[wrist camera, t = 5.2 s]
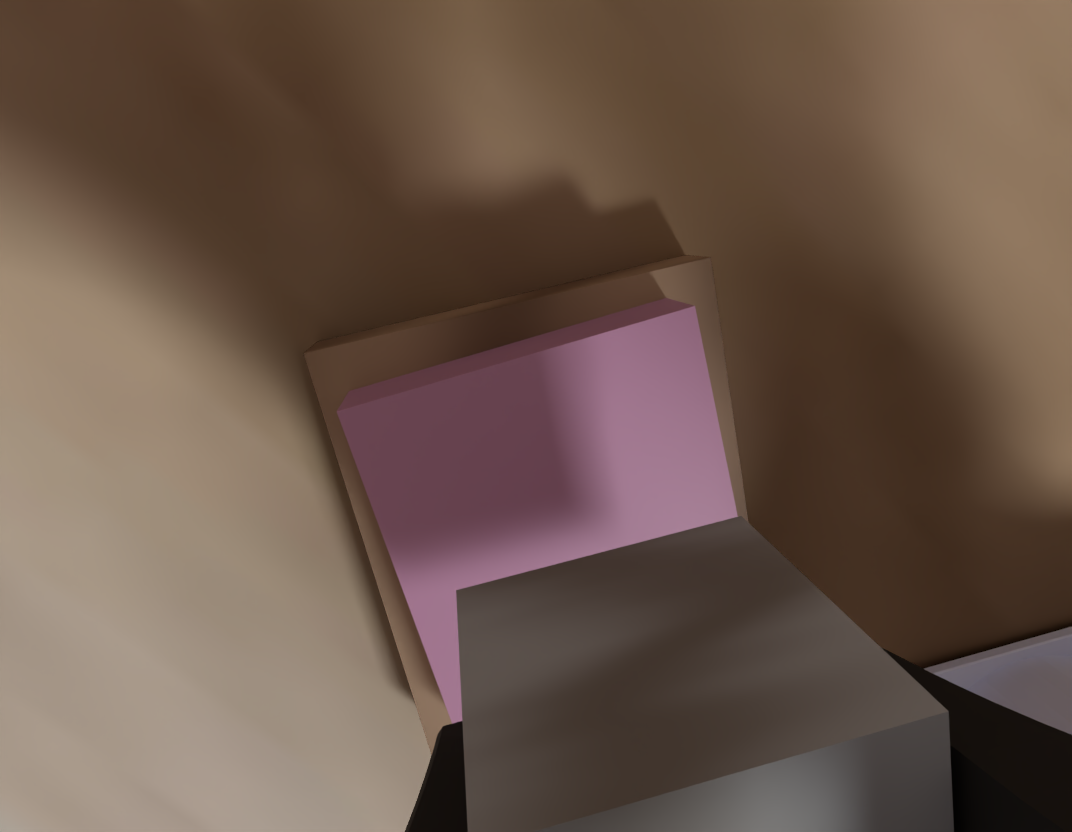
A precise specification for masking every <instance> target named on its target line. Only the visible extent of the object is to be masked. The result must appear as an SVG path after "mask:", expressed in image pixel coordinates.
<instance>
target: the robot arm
mask: <svg viewBox="0 0 1072 832" xmlns="http://www.w3.org/2000/svg"><path fill="white" fill-rule="evenodd" d="M882 649H883V648H882ZM883 650H884V651H885V652H886V653H887V654H888V655H889V656H890V657H891V658H893V659H894V660H895V661H896V662H897V663H898V664H899V665H900V666H901V667H902V668H903V669H904V670H905V671H906V672H907V673H908V674H910V675H911V676H912V677H913V678H914V679H915V680H916V681H917V682H918V683H919V684H920V685H921V686H922V687H923V688H924V689H925V690H927V691H928V692H929V693H930V694H931V695H932V696H933V697H934V698H935V699H936V700H937V701H938V702H939V703H940V704H941V705H942V706H943V707H945V708H946V709H947V710H948V711H949V732H950V754H951V776H952V798H953V820H954V832H1072V627H1068V628H1065V629H1061V630H1058V631H1054V632H1051V633H1047V634H1044V635H1040V636H1037V637H1033V638H1029V639H1026V640H1022V641H1019V642H1015V643H1012V644H1008V645H1005V646H1001V647H998V648H994V649H991V650H987V651H984V652H980V653H977V654H973V655H970V656H966V657H963V658H959V659H956V660H952V661H949V662H945V663H942V664H938V665H935V666H931V667H928V668H924V669H923V668H921V667H919V666H917V665H915V664H913V663H911V662H909V661H907V660H905V659H903V658H901V657H899V656H897V655H895V654H893V653H891V652H889V651H887V650H885V649H883ZM405 832H468V826H467V805H466V785H465V764H464V743H463V723H462V721H460V722H456V723H453V724H449V725H445V726H443V727H442V728H441V730H440V731H439V733H438V734H437V738H436V742H435V746H434V749H433V752H432V756H431V759H430V763H429V766H428V769H427V772H426V775H425V778H424V781H423V784H422V787H421V790H420V793H419V795H418V798H417V801H416V804H415V807H414V809H413V812H412V814H411V817H410V820H409V822H408V825H407V827H406V830H405Z"/></svg>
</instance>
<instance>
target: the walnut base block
mask: <svg viewBox="0 0 1072 832" xmlns="http://www.w3.org/2000/svg"><path fill="white" fill-rule="evenodd" d="M664 298H669V299H672V300H676V301H679V302H683V303H686V304H690V305H693V306H695V309H696V314H697V319H698V324H699V329H700V333H701V338H702V343H703V348H704V353H705V358H706V363H707V368H708V373H709V378H710V383H711V388H712V393H713V397H714V402H715V407H716V412H717V417H718V422H719V427H720V432H721V437H722V442H723V447H724V452H725V456H726V461H727V466H728V471H729V476H730V481H731V486H732V491H733V496H734V501H735V506H736V511H737V516H742V517H743V518H744V519H745V520H746V521H747V522H748V516H747V509H746V502H745V495H744V487H743V480H742V473H741V466H740V459H739V452H738V445H737V438H736V431H735V424H734V417H733V410H732V403H731V396H730V389H729V381H728V374H727V367H726V360H725V353H724V346H723V339H722V332H721V325H720V318H719V311H718V304H717V297H716V290H715V283H714V276H713V268H712V261H711V257H701V256H690V255H684V256H679V257H675V258H671V259H667V260H662V261H658V262H654V263H650V264H645V265H641V266H637V267H633V268H628V269H624V270H620V271H616V272H611V273H607V274H603V275H599V276H594V277H590V278H586V279H582V280H577V281H573V282H569V283H565V284H561V285H556V286H552V287H548V288H544V289H539V290H535V291H531V292H527V293H522V294H518V295H514V296H510V297H505V298H501V299H497V300H493V301H488V302H484V303H480V304H476V305H471V306H467V307H463V308H459V309H454V310H450V311H446V312H442V313H437V314H433V315H429V316H425V317H421V318H416V319H412V320H408V321H404V322H399V323H395V324H391V325H387V326H382V327H378V328H374V329H370V330H365V331H361V332H357V333H353V334H348V335H344V336H340V337H336V338H331V339H327V340H323V341H319V342H316V343H315V344H314V345H313V346H312V347H310V348H309V349H308V350H307V351H306V352H305V353H304V357H305V360H306V364H307V367H308V370H309V373H310V376H311V379H312V382H313V385H314V389H315V392H316V395H317V398H318V401H319V404H320V407H321V410H322V414H323V417H324V420H325V423H326V426H327V429H328V432H329V435H330V439H331V442H332V445H333V448H334V451H335V454H336V457H337V461H338V464H339V467H340V470H341V473H342V476H343V479H344V482H345V486H346V489H347V492H348V495H349V498H350V501H351V504H352V507H353V511H354V514H355V517H356V520H357V523H358V526H359V529H360V532H361V536H362V539H363V542H364V545H365V548H366V551H367V554H368V557H369V561H370V564H371V567H372V570H373V573H374V576H375V579H376V583H377V586H378V589H379V592H380V595H381V598H382V601H383V604H384V608H385V611H386V614H387V617H388V620H389V623H390V626H391V629H392V633H393V636H394V639H395V642H396V645H397V648H398V651H399V654H400V658H401V661H402V664H403V667H404V670H405V673H406V676H407V679H408V683H409V686H410V689H411V692H412V695H413V698H414V701H415V705H416V708H417V711H418V714H419V717H420V720H421V723H422V726H423V730H424V733H425V736H426V739H427V742H428V745H429V748H430V751H431V755H432V752H433V749H434V746H435V742H436V738H437V734H438V733H439V731H440V730H441V728H442V727H443V726H445V725H449V724H452V722H451V719H450V716H449V714H448V711H447V708H446V706H445V703H444V700H443V698H442V695H441V692H440V689H439V687H438V684H437V681H436V679H435V676H434V673H433V671H432V668H431V665H430V662H429V660H428V657H427V654H426V652H425V649H424V646H423V644H422V641H421V638H420V635H419V633H418V630H417V627H416V625H415V622H414V619H413V617H412V614H411V611H410V608H409V606H408V603H407V600H406V598H405V595H404V592H403V590H402V587H401V584H400V581H399V579H398V576H397V573H396V571H395V568H394V565H393V563H392V560H391V557H390V554H389V552H388V549H387V546H386V544H385V541H384V538H383V536H382V533H381V530H380V527H379V525H378V522H377V519H376V517H375V514H374V511H373V509H372V506H371V503H370V500H369V498H368V495H367V492H366V490H365V487H364V484H363V482H362V479H361V476H360V473H359V471H358V468H357V465H356V463H355V460H354V457H353V455H352V452H351V449H350V446H349V444H348V441H347V438H346V436H345V433H344V430H343V428H342V425H341V422H340V419H339V417H338V414H337V410H338V408H339V407H340V405H341V403H342V402H343V400H344V399H345V397H346V395H347V394H348V392H349V391H351V390H354V389H358V388H361V387H365V386H368V385H371V384H375V383H378V382H382V381H385V380H388V379H392V378H395V377H399V376H402V375H405V374H409V373H412V372H416V371H419V370H422V369H426V368H429V367H433V366H436V365H439V364H443V363H446V362H450V361H453V360H456V359H460V358H463V357H467V356H470V355H473V354H477V353H480V352H484V351H487V350H490V349H494V348H497V347H501V346H504V345H508V344H511V343H514V342H518V341H521V340H525V339H528V338H531V337H535V336H538V335H542V334H545V333H548V332H552V331H555V330H559V329H562V328H565V327H569V326H572V325H576V324H579V323H582V322H586V321H589V320H593V319H596V318H599V317H603V316H606V315H610V314H613V313H616V312H620V311H623V310H627V309H630V308H633V307H637V306H640V305H644V304H647V303H650V302H654V301H657V300H661V299H664Z"/></svg>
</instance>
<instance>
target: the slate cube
mask: <svg viewBox="0 0 1072 832" xmlns="http://www.w3.org/2000/svg"><path fill="white" fill-rule="evenodd" d="M456 599H457V620H458V640H459V661H460V682H461V702H462V723H463V743H464V764H465V785H466V805H467V826H468V832H954V820H953V798H952V776H951V754H950V732H949V711H948V710H947V709H946V708H945V707H943V706H942V705H941V704H940V703H939V702H938V701H937V700H936V699H935V698H934V697H933V696H932V695H931V694H930V693H929V692H928V691H927V690H925V689H924V688H923V687H922V686H921V685H920V684H919V683H918V682H917V681H916V680H915V679H914V678H913V677H912V676H911V675H910V674H908V673H907V672H906V671H905V670H904V669H903V668H902V667H901V666H900V665H899V664H898V663H897V662H896V661H895V660H894V659H893V658H891V657H890V656H889V655H888V654H887V653H886V652H885V651H884V650H883V649H882V648H881V647H880V646H879V645H878V644H877V643H876V642H875V641H873V640H872V639H871V638H870V637H869V636H868V635H867V634H866V633H865V632H864V631H863V630H862V629H861V628H860V627H859V626H858V625H856V624H855V623H854V622H853V621H852V620H851V619H850V618H849V617H848V616H847V615H846V614H845V613H844V612H843V611H842V610H841V609H840V608H838V607H837V606H836V605H835V604H834V603H833V602H832V601H831V600H830V599H829V598H828V597H827V596H826V595H825V594H824V593H823V592H821V591H820V590H819V589H818V588H817V587H816V586H815V585H814V584H813V583H812V582H811V581H810V580H809V579H808V578H807V577H806V576H804V575H803V574H802V573H801V572H800V571H799V570H798V569H797V568H796V567H795V566H794V565H793V564H792V563H791V562H790V561H789V560H788V559H786V558H785V557H784V556H783V555H782V554H781V553H780V552H779V551H778V550H777V549H776V548H775V547H774V546H773V545H772V544H771V543H769V542H768V541H767V540H766V539H765V538H764V537H763V536H762V535H761V534H760V533H759V532H758V531H757V530H756V529H755V528H754V527H753V526H751V525H750V524H749V523H748V522H747V521H746V520H745V519H744V518H743V517H742V516H738V517H734V518H731V519H727V520H723V521H719V522H715V523H712V524H708V525H704V526H700V527H696V528H692V529H689V530H685V531H681V532H677V533H673V534H669V535H666V536H662V537H658V538H654V539H650V540H646V541H643V542H639V543H635V544H631V545H627V546H623V547H620V548H616V549H612V550H608V551H604V552H600V553H597V554H593V555H589V556H585V557H581V558H577V559H574V560H570V561H566V562H562V563H558V564H555V565H551V566H547V567H543V568H539V569H535V570H532V571H528V572H524V573H520V574H516V575H512V576H509V577H505V578H501V579H497V580H493V581H489V582H486V583H482V584H478V585H474V586H470V587H466V588H463V589H459V590H456Z"/></svg>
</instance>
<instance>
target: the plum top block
mask: <svg viewBox="0 0 1072 832" xmlns="http://www.w3.org/2000/svg"><path fill="white" fill-rule="evenodd" d="M337 414H338V417H339V419H340V422H341V425H342V428H343V430H344V433H345V436H346V438H347V441H348V444H349V446H350V449H351V452H352V455H353V457H354V460H355V463H356V465H357V468H358V471H359V473H360V476H361V479H362V482H363V484H364V487H365V490H366V492H367V495H368V498H369V500H370V503H371V506H372V509H373V511H374V514H375V517H376V519H377V522H378V525H379V527H380V530H381V533H382V536H383V538H384V541H385V544H386V546H387V549H388V552H389V554H390V557H391V560H392V563H393V565H394V568H395V571H396V573H397V576H398V579H399V581H400V584H401V587H402V590H403V592H404V595H405V598H406V600H407V603H408V606H409V608H410V611H411V614H412V617H413V619H414V622H415V625H416V627H417V630H418V633H419V635H420V638H421V641H422V644H423V646H424V649H425V652H426V654H427V657H428V660H429V662H430V665H431V668H432V671H433V673H434V676H435V679H436V681H437V684H438V687H439V689H440V692H441V695H442V698H443V700H444V703H445V706H446V708H447V711H448V714H449V716H450V719H451V722H452V724H453V723H456V722H460V721H462V702H461V682H460V661H459V640H458V620H457V599H456V590H459V589H463V588H466V587H470V586H474V585H478V584H482V583H486V582H489V581H493V580H497V579H501V578H505V577H509V576H512V575H516V574H520V573H524V572H528V571H532V570H535V569H539V568H543V567H547V566H551V565H555V564H558V563H562V562H566V561H570V560H574V559H577V558H581V557H585V556H589V555H593V554H597V553H600V552H604V551H608V550H612V549H616V548H620V547H623V546H627V545H631V544H635V543H639V542H643V541H646V540H650V539H654V538H658V537H662V536H666V535H669V534H673V533H677V532H681V531H685V530H689V529H692V528H696V527H700V526H704V525H708V524H712V523H715V522H719V521H723V520H727V519H731V518H734V517H738V516H737V511H736V506H735V501H734V496H733V491H732V486H731V481H730V476H729V471H728V466H727V461H726V456H725V452H724V447H723V442H722V437H721V432H720V427H719V422H718V417H717V412H716V407H715V402H714V397H713V393H712V388H711V383H710V378H709V373H708V368H707V363H706V358H705V353H704V348H703V343H702V338H701V333H700V329H699V324H698V319H697V314H696V309H695V306H693V305H690V304H686V303H683V302H679V301H676V300H672V299H669V298H664V299H661V300H657V301H654V302H650V303H647V304H644V305H640V306H637V307H633V308H630V309H627V310H623V311H620V312H616V313H613V314H610V315H606V316H603V317H599V318H596V319H593V320H589V321H586V322H582V323H579V324H576V325H572V326H569V327H565V328H562V329H559V330H555V331H552V332H548V333H545V334H542V335H538V336H535V337H531V338H528V339H525V340H521V341H518V342H514V343H511V344H508V345H504V346H501V347H497V348H494V349H490V350H487V351H484V352H480V353H477V354H473V355H470V356H467V357H463V358H460V359H456V360H453V361H450V362H446V363H443V364H439V365H436V366H433V367H429V368H426V369H422V370H419V371H416V372H412V373H409V374H405V375H402V376H399V377H395V378H392V379H388V380H385V381H382V382H378V383H375V384H371V385H368V386H365V387H361V388H358V389H354V390H351V391H349V392H348V394H347V395H346V397H345V399H344V400H343V402H342V403H341V405H340V407H339V408H338V410H337Z"/></svg>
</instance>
